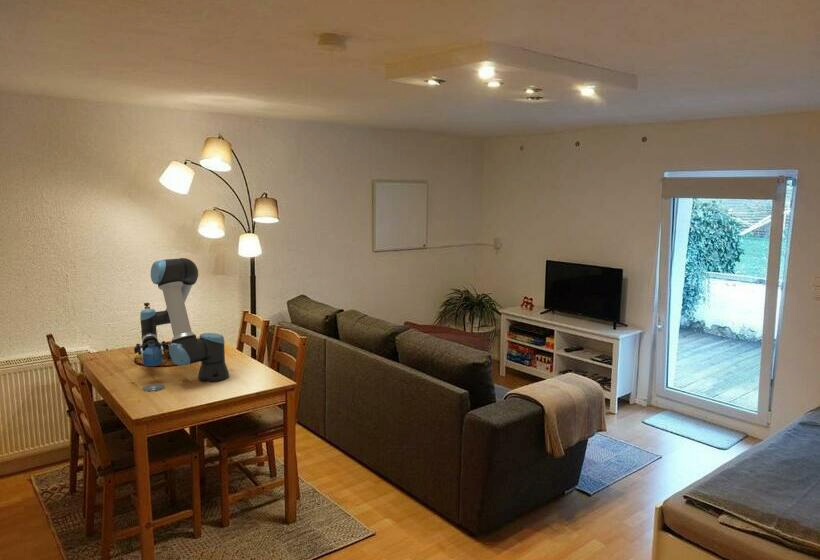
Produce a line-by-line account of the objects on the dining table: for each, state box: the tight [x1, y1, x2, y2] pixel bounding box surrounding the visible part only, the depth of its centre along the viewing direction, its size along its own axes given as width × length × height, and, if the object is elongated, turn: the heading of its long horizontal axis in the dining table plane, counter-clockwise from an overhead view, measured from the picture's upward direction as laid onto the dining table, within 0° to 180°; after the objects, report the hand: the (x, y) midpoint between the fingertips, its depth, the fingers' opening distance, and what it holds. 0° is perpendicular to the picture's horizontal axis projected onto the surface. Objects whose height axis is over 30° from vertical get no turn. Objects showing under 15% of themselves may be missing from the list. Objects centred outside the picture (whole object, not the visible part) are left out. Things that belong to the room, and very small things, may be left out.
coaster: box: [141, 383, 165, 393], centre depth 288 cm, size 10×10×1 cm
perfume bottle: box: [142, 340, 163, 367], centre depth 296 cm, size 6×6×12 cm
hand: (152, 352), depth 291 cm, fingers closed on perfume bottle, 9 cm apart
